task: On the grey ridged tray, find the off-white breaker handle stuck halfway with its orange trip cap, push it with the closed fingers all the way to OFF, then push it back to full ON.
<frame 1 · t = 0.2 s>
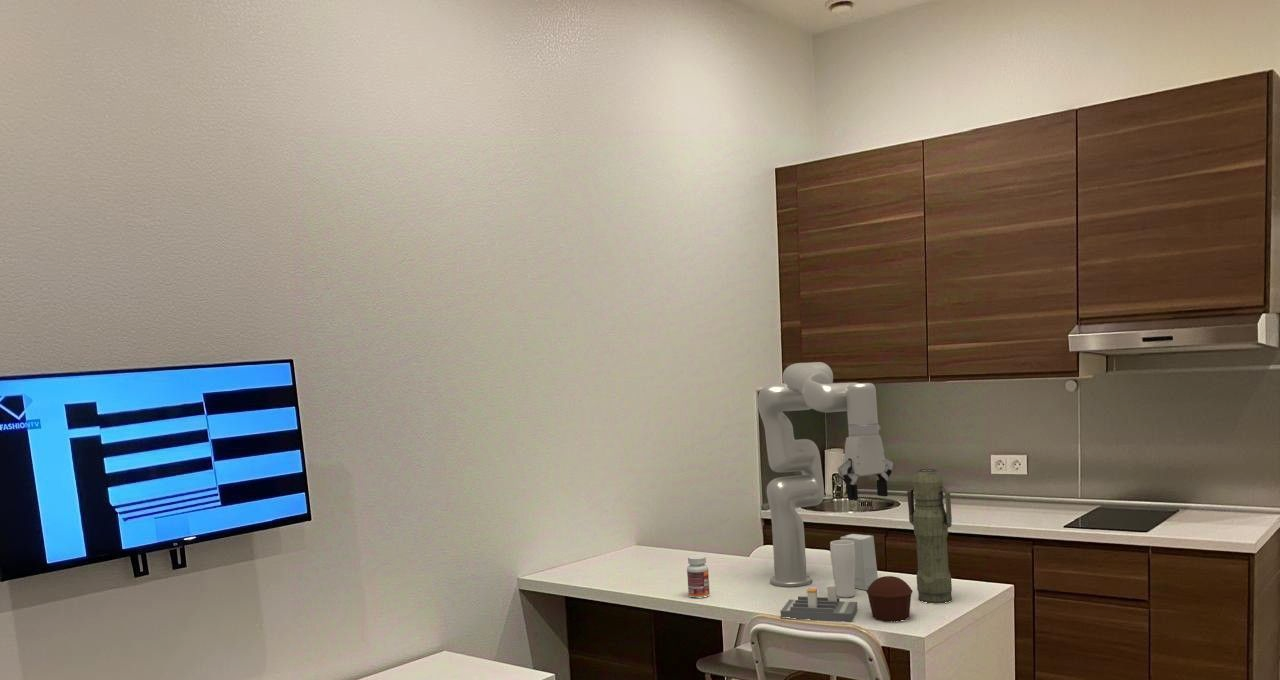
hand: (867, 497, 235), 30 cm above the table, tool pointing down, fingers open, 9 cm apart
drinking glass: (845, 596, 257), on the table
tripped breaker: (812, 599, 236), point 5 cm above the table, slide at 4.0 cm
pill bottle: (699, 596, 265), on the table
green vase with handles: (934, 600, 247), on the table
grey ridged tray: (819, 614, 239), on the table
muffin: (890, 618, 233), on the table
skincare box: (861, 587, 266), on the table
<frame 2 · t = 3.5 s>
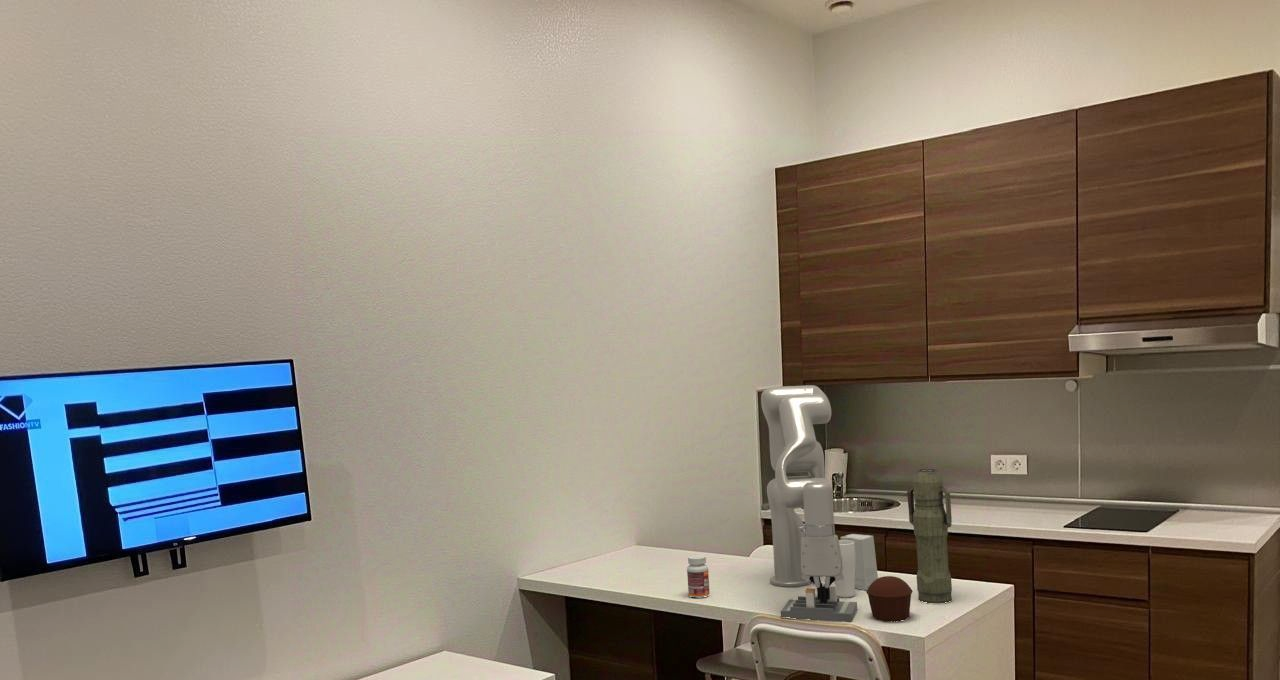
hand: (823, 602, 235), 4 cm above the table, tool pointing down, fingers closed
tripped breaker: (810, 599, 237), point 5 cm above the table, slide at 3.6 cm, touching gripper
everything else where it was.
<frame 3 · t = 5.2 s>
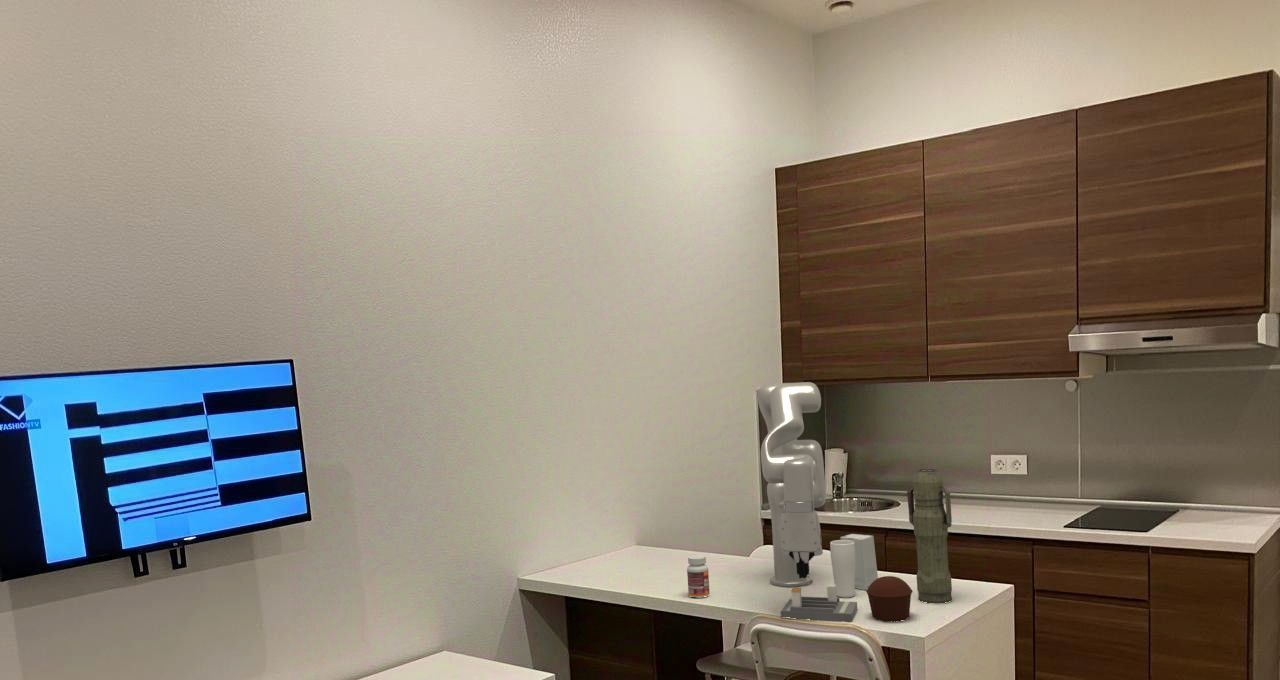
hand: (803, 576, 238), 10 cm above the table, tool pointing down, fingers closed
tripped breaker: (796, 598, 238), point 5 cm above the table, slide at -0.1 cm
everything else where it was.
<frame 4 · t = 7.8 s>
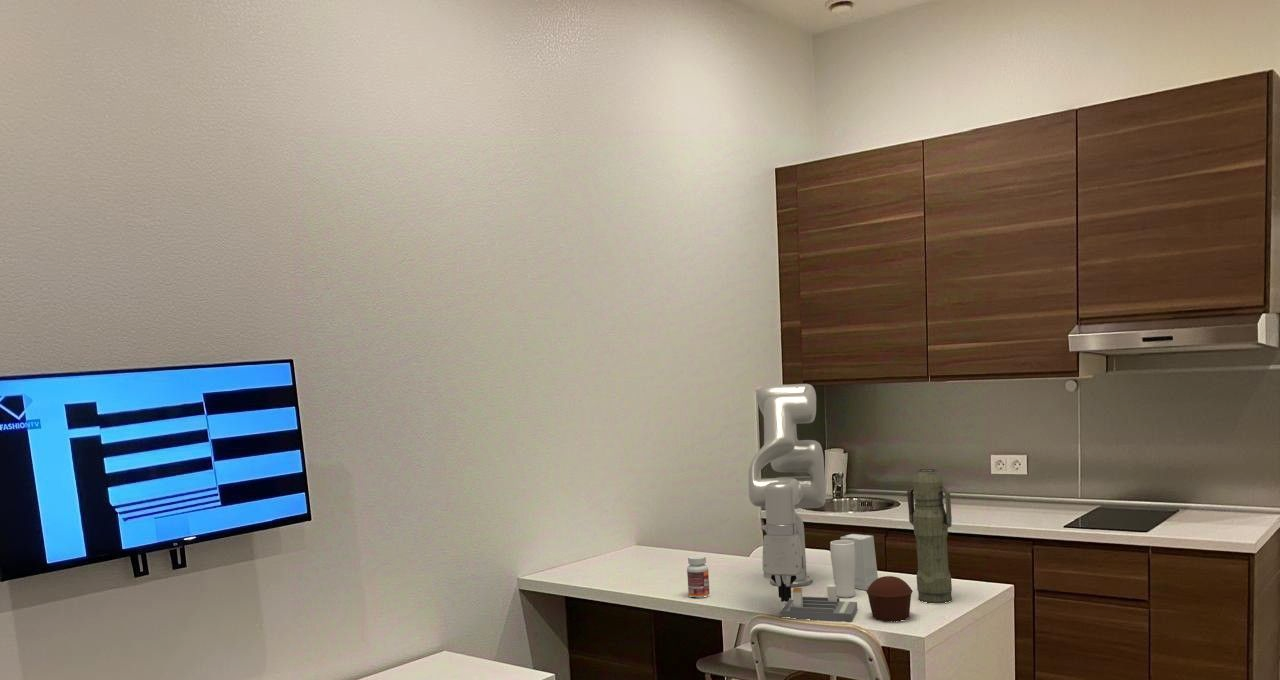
hand: (785, 600, 239), 4 cm above the table, tool pointing down, fingers closed
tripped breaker: (797, 598, 238), point 5 cm above the table, slide at 0.2 cm, touching gripper
everything else where it was.
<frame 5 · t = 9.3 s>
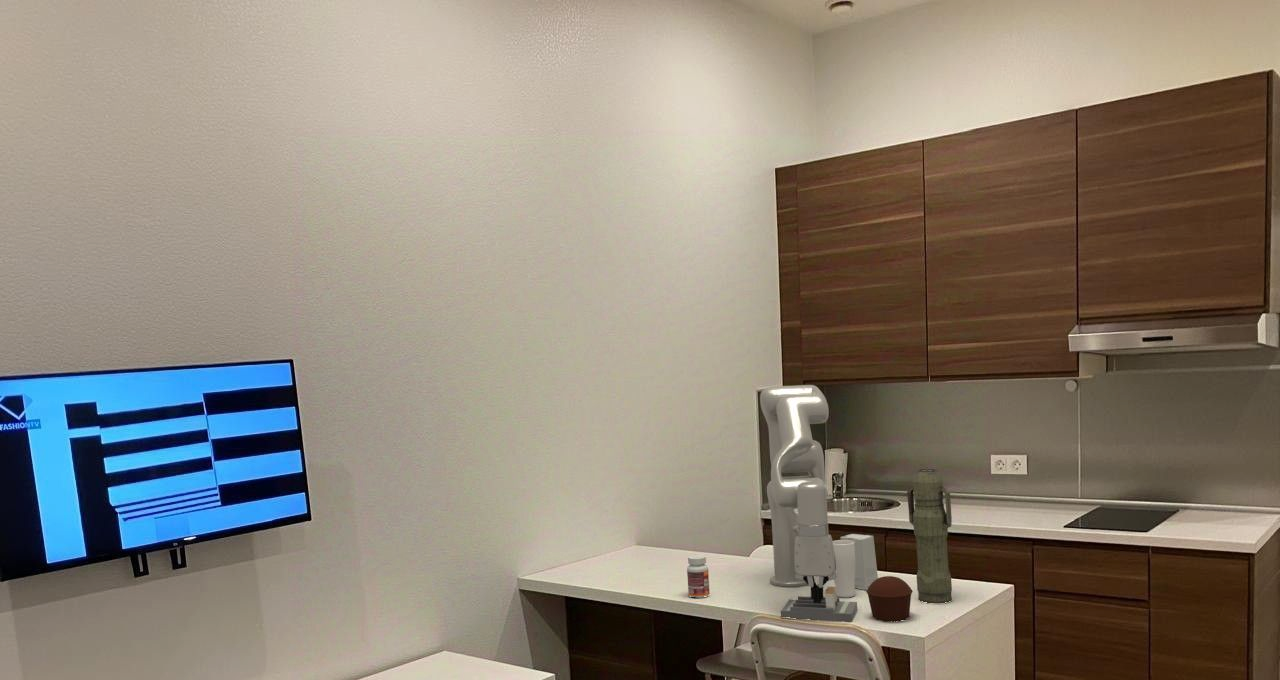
hand: (817, 601, 236), 4 cm above the table, tool pointing down, fingers closed
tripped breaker: (830, 599, 235), point 5 cm above the table, slide at 8.6 cm, touching gripper
everything else where it was.
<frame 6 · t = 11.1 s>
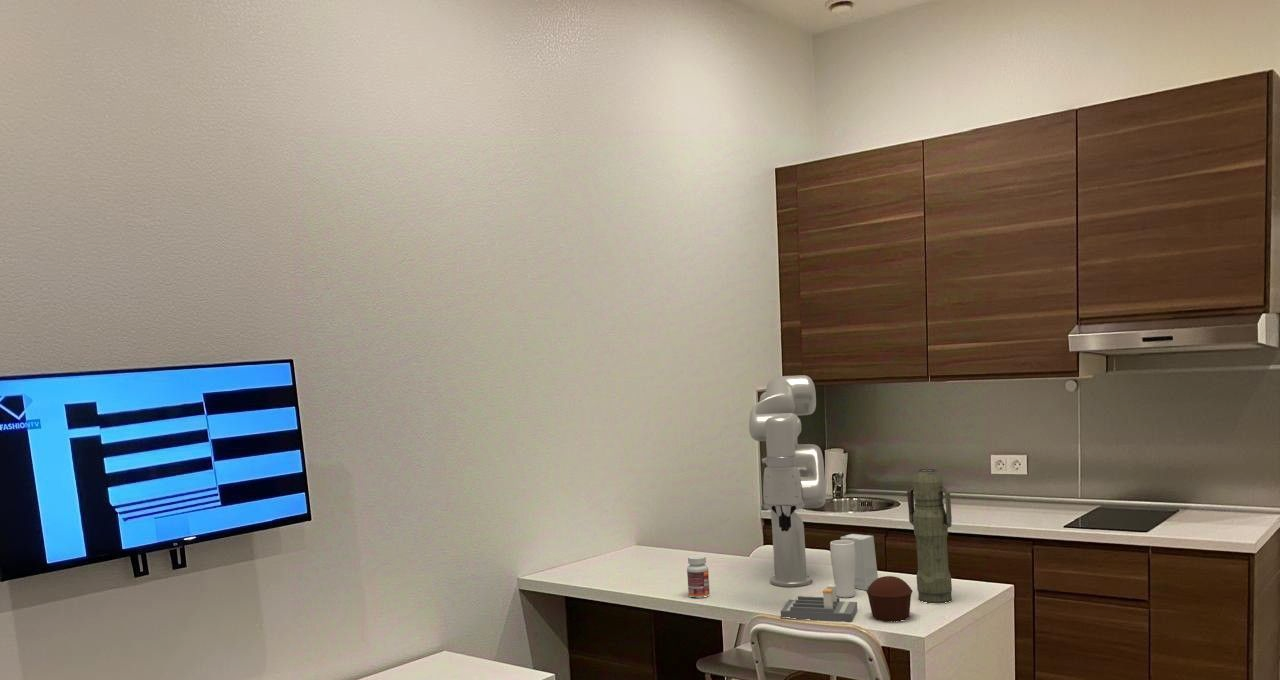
hand: (785, 530, 247), 21 cm above the table, tool pointing down, fingers closed
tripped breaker: (828, 599, 235), point 5 cm above the table, slide at 8.1 cm
everything else where it was.
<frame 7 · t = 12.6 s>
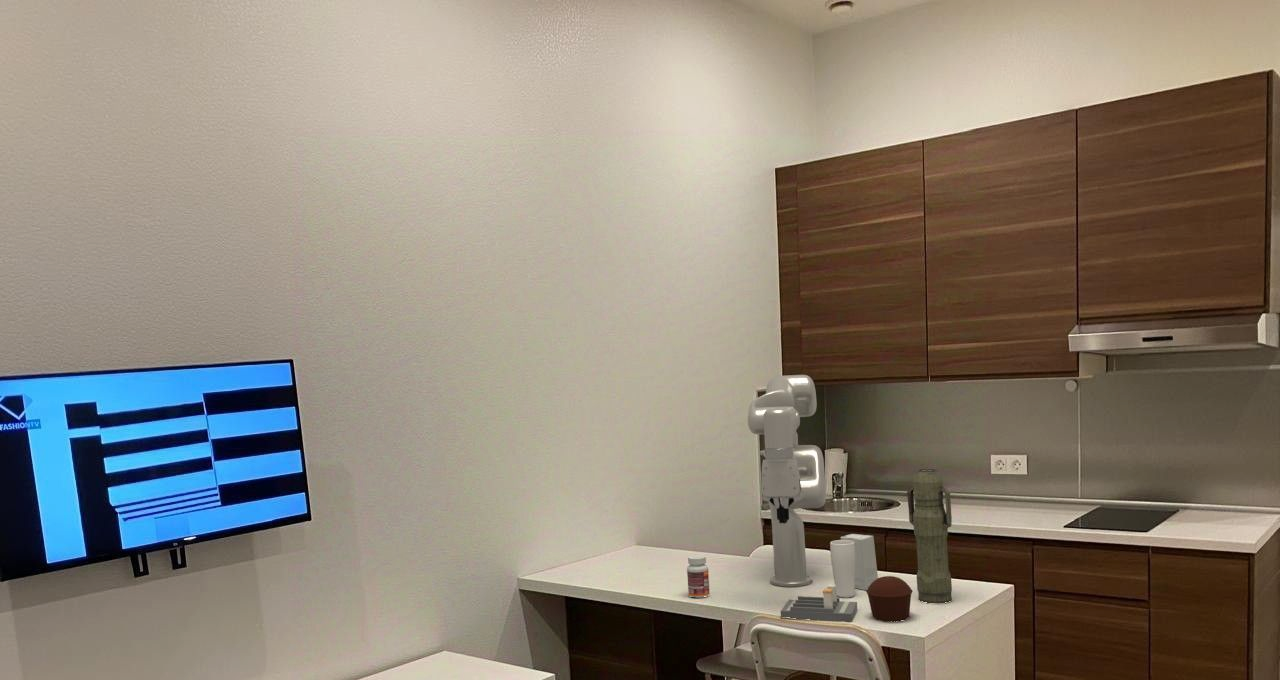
hand: (783, 522, 247), 23 cm above the table, tool pointing down, fingers closed
nothing on the table moved.
at the end: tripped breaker slide at 8.1 cm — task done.
